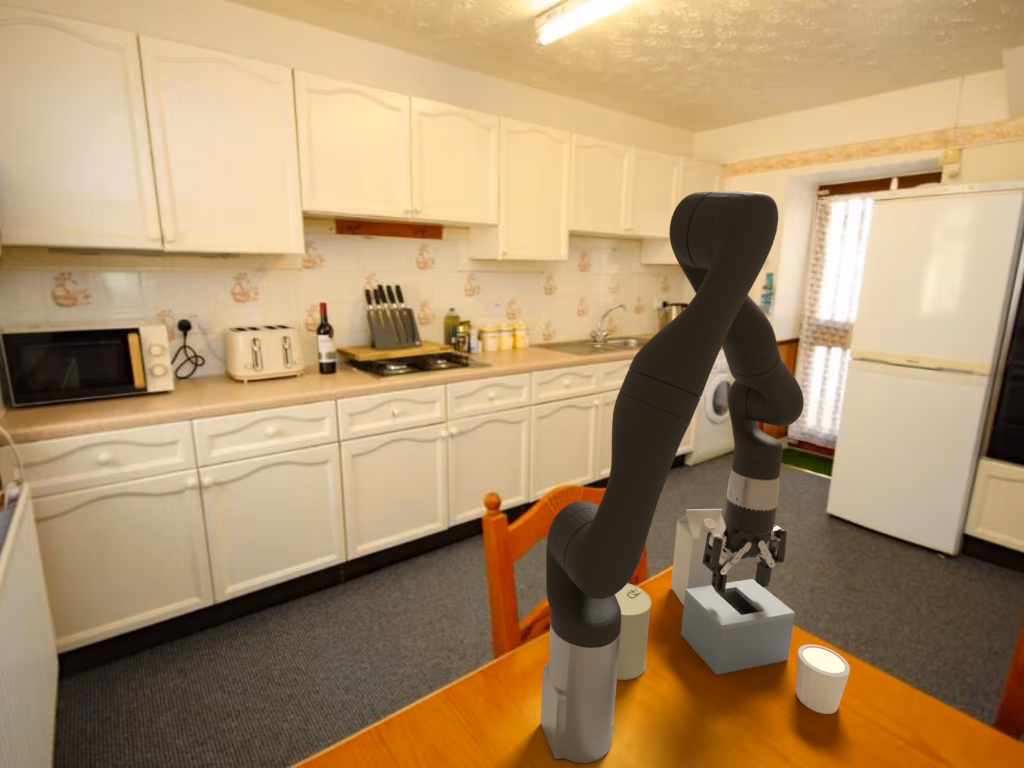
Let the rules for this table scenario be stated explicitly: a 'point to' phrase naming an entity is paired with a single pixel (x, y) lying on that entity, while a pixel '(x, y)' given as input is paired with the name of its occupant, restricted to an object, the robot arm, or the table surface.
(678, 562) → the milk carton
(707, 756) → the table surface
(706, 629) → the coin box
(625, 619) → the can
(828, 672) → the white cup
